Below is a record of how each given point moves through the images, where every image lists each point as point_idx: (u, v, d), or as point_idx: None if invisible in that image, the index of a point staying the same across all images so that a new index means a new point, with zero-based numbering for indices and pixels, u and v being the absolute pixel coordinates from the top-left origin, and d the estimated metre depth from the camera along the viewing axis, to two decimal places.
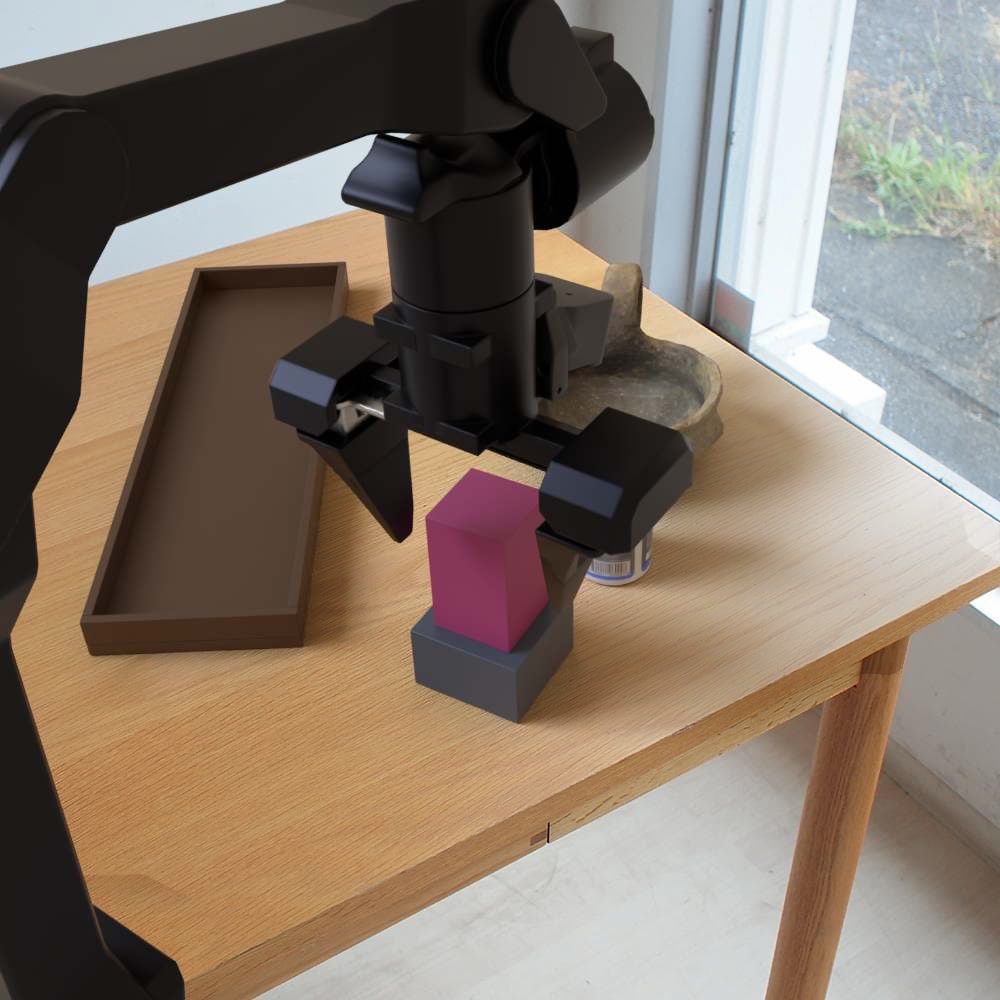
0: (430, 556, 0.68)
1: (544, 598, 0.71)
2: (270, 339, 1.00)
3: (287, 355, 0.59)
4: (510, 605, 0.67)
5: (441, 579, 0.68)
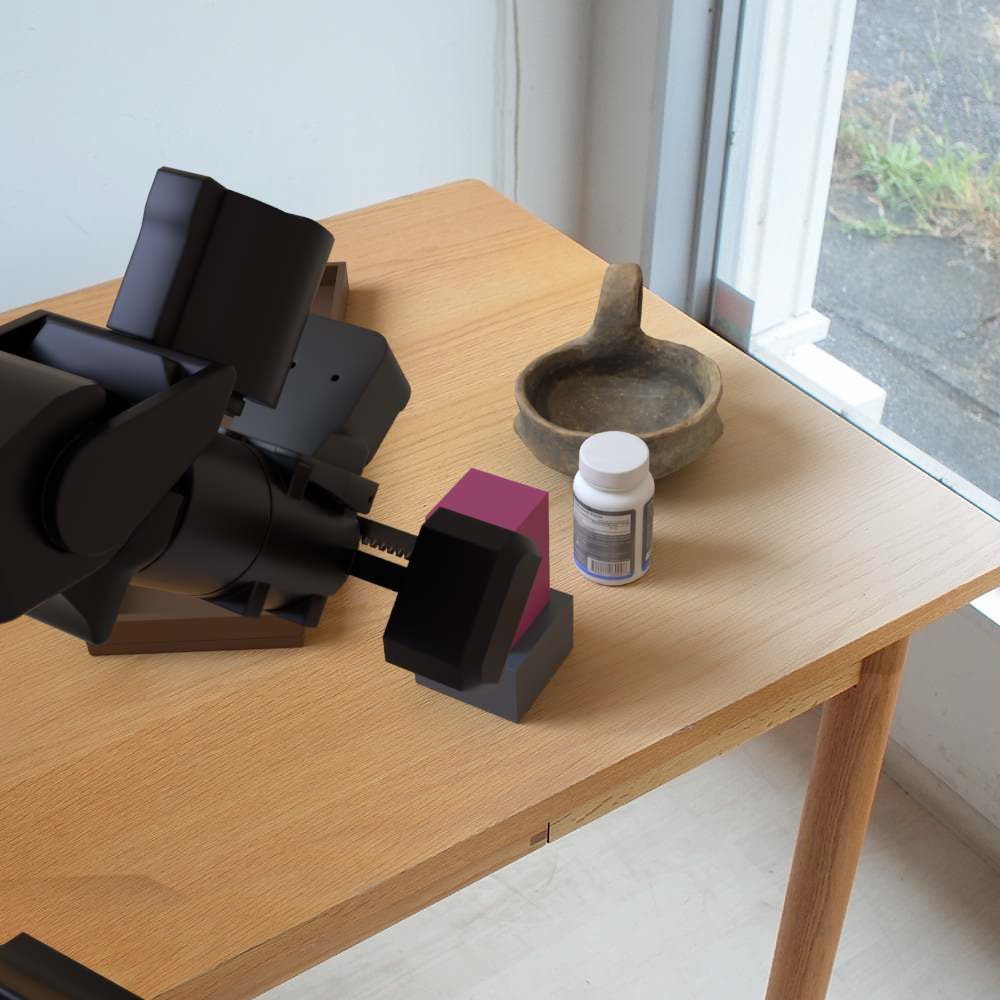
0: None
1: (544, 598, 0.71)
2: None
3: None
4: None
5: None
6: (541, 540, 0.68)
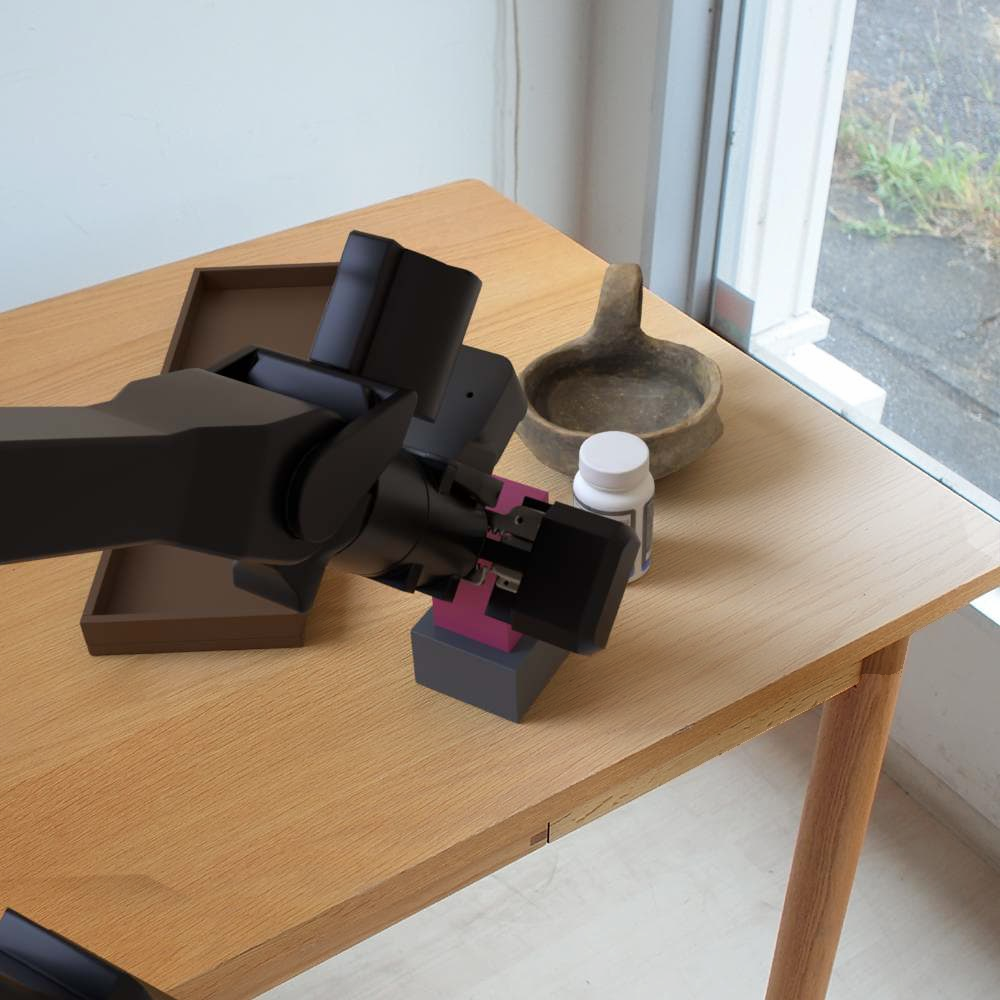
0: None
1: None
2: (270, 339, 1.00)
3: None
4: None
5: None
6: None
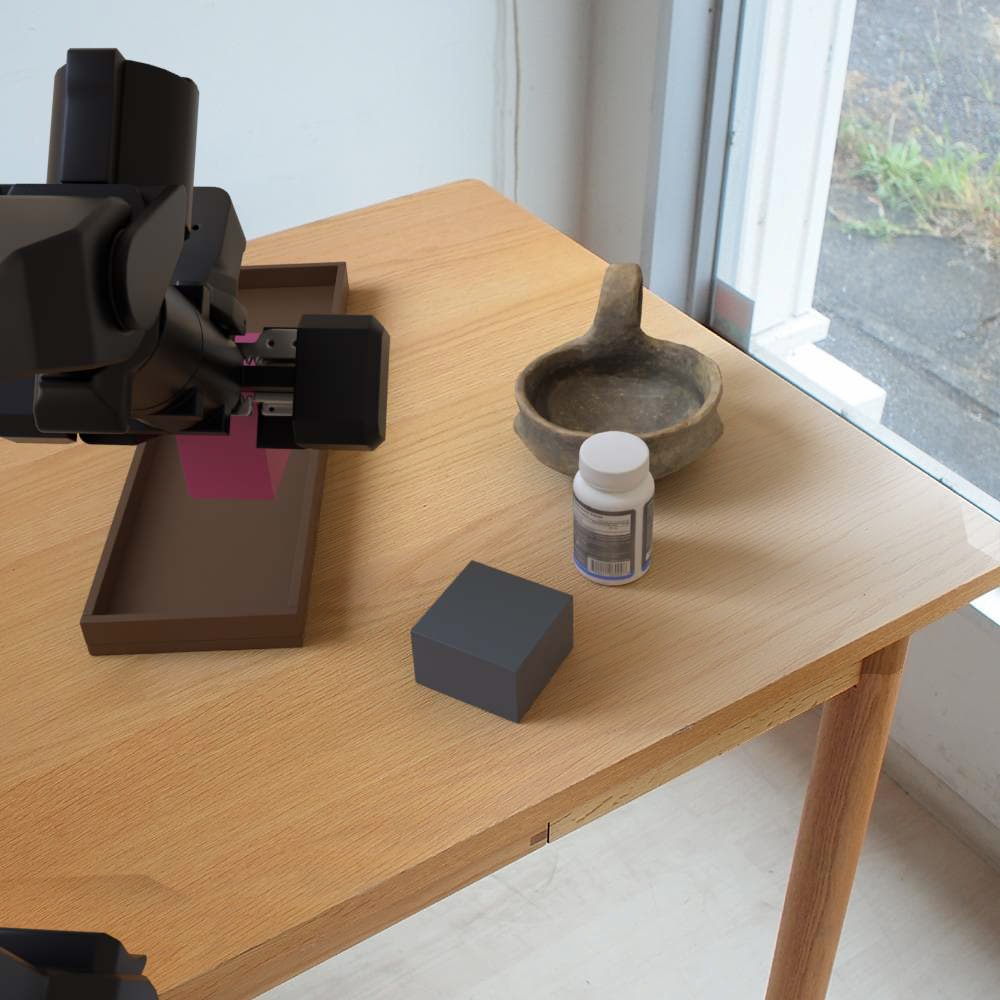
0: None
1: None
2: None
3: None
4: None
5: (190, 443, 0.68)
6: None
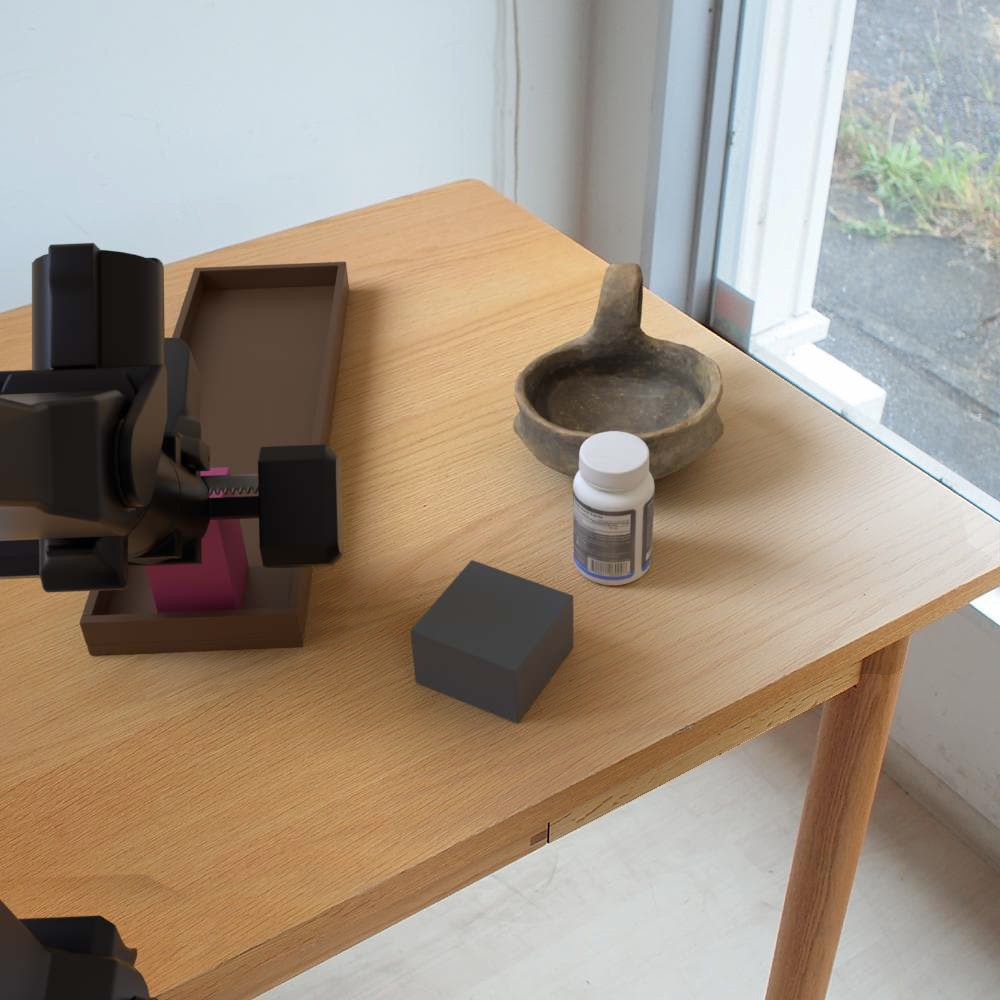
0: None
1: (245, 564, 0.79)
2: (270, 339, 1.00)
3: None
4: (231, 573, 0.75)
5: (159, 574, 0.74)
6: None
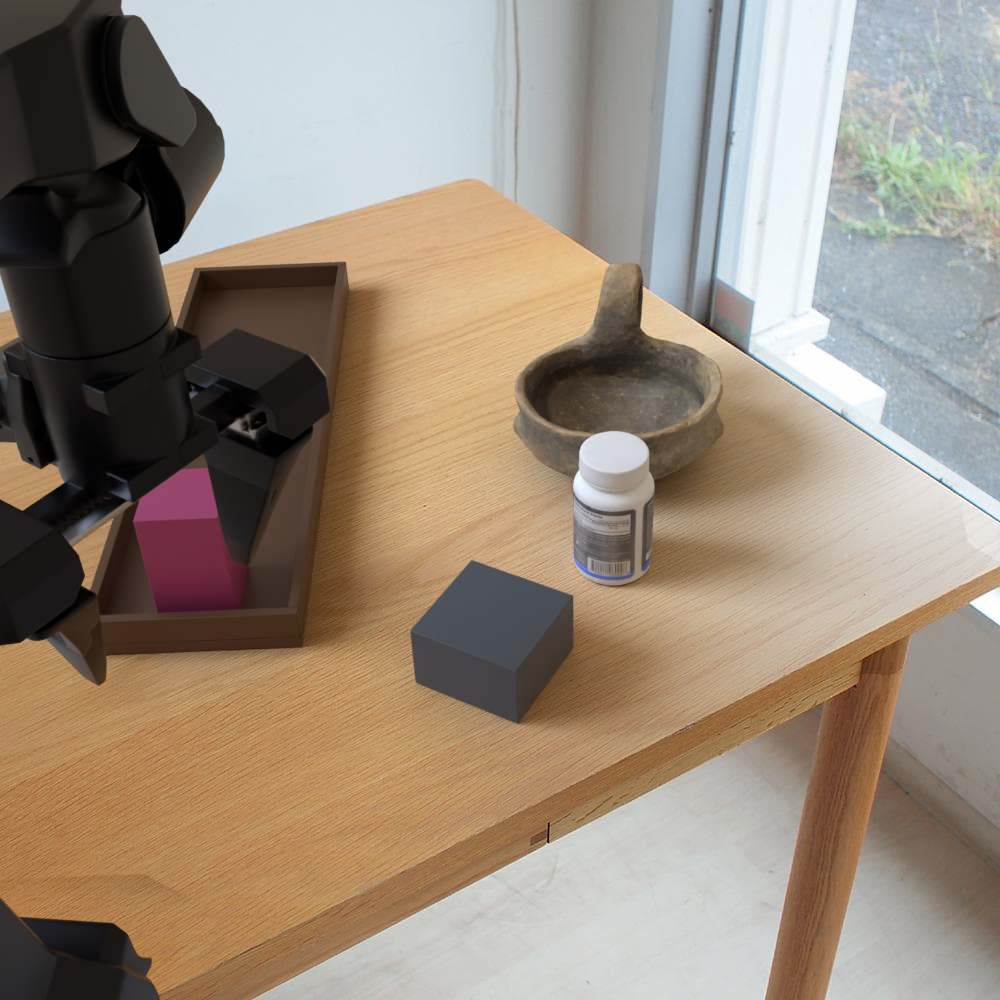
0: (145, 557, 0.73)
1: None
2: (270, 339, 1.00)
3: None
4: (231, 573, 0.75)
5: (159, 574, 0.74)
6: None
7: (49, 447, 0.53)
